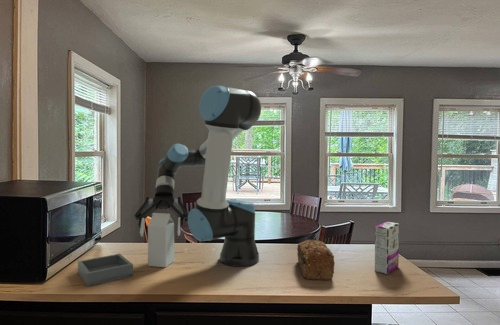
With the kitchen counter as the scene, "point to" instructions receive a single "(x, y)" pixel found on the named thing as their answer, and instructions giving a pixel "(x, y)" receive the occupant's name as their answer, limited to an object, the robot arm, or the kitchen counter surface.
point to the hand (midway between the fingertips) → (160, 234)
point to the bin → (104, 269)
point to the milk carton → (160, 240)
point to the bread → (315, 260)
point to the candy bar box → (386, 247)
